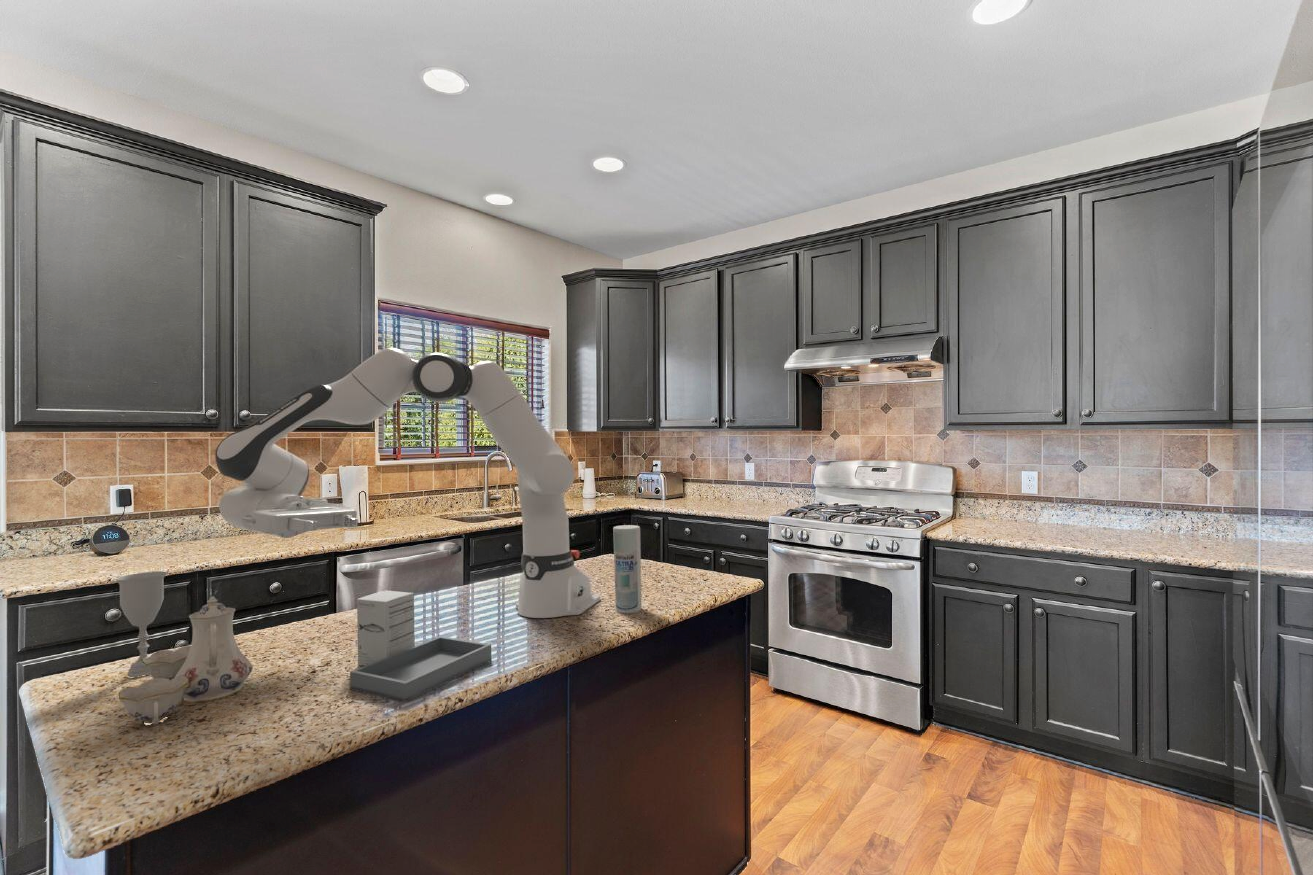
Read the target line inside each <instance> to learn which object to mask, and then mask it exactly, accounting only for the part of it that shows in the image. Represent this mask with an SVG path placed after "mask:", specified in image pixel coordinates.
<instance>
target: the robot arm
mask: <svg viewBox="0 0 1313 875" xmlns="http://www.w3.org/2000/svg"><path fill="white" fill-rule="evenodd" d="M409 393H418V394H420V396H422V397H424V398H425V399H427V400H429V401H431V402H434V403H448V402H451V401H453V400H455V399H456V398H463V399H465V400H467V402H469V404H471V405H472V408H473V409H474V410H475V411H476V413H477V414H478V416H479V417H480V419H481V420H482V422H483V424H484V425H485V427H486V428H487V430H488V431H489V433H490V434H491V436H492V437H493V440H494V441H495V442H496V443H497V445H498V446H499V447H500V449H501V450H502V451H503V452H504V453H505V454H506V456H507V457H508V459H509V460H510V461H511V462H512V464H513V466H515V468H516V470H517V471H516V474H517V475H516V477H517V487H518V488H517V489H518V495H519V496H518V497H519V504H520V511H521V512H520V513H521V520H522V547H523V551H522V554H521V560H520V562H521V569H522V571H523V572H522V573H521V574H520V576H519V577H520V578H519V588H518V602H516V603H515V608H516V609H517V614H518V615H520V616H522V617H525V618H532V619H533V618H534V619H548V618H551V619H552V618H557V617H563V616H564V617H565V616H577V615H581V614H583V613H584V612H585V611H586V610H588V609H589V608H591V607H592V606H594V605H595V604H596V603H598V602H599V601H600V600H601V595H599V594H596V593H593V592H592V587H591V586H592V585H591V580H590V578H589V576H588V575H586V573H584V572H583V571H582V570H581V569H580V568H578V567H577V566H576V565H575V561H574V559H579V557H580V551H579V550H578V549H577V550H576V549H575V550H574V549H570V531H569V530H570V529H569V527H570V524H569V523H570V521H569V517H568V512H567V508H566V502H565V496H564V493H566V492H567V491H568V490H570V488H571V487H572V485H573V484H574V481H575V478H576V471H575V467H574V465H573V462H572V461H571V460H570V459H569V457H568V456H567V455H566V454H565V452H564V451H563V450H562V449H561V447H560V445H559V444H558V443H557V442H556V441H555V439H554V438H553V436H552V435H551V434H550V433H549V432H548V431H547V430H546V428H545V427H544V426H543V425H542V423H541V422H540V420H539V419H538V418H537V416H536V414H535V413H534V412H533V410H532V408H531V406H530V405H529V403H528V402H527V400H526V399H525V397H524V396H523V395H522V393H521V391H520V389H519V388H518V386H517V385H516V383H515V382H514V381H513V380H512V379H511V377H510V376H509V375H508V374H507V373H506V372H505V370H504V369H503V368H502V367H501V366H500V365H499V364H498V363H496V362H494V361H491V360H482V361H479V362H475V364H473V365H471V366H469V365H468V364H466V363H464V362H462V361H461V360H459V359H457V358H455V357H454V356H451V355H449V354H446V353H442V352H432V353H427V354H425V355H423V356H422V357H421V358H419V359H417V360H416V359H413V358H412V357H411V356H409V355H408V354H407V353H406V352H405V351H403V350H401V349H399V348H395V347H385V348H383V349H381V350H380V351H378V352H376V353H375V354H373V355H371V356H370V357H368V358H367V359H365V360H364V361H363V362H362V363H360V364H359V365H358V366H357V367H355V368H354V369H352V370H351V372H349V373H348V374H347V375H345V376H344V377H343V378H340V379H338V380H336V381H334V382H331V383H327V384H316V385H312V386H311V387H309V388H307V389H305V390H303V391H301V392H300V393H299V394H297V395H295V396H294V397H292V398H290V399H289V400H288V401H286V402H284V403H283V404H281V405H279V406H278V407H277V408H276V407H275V409H273V410H272V411H271V412H268V413H267V414H265V415H263V417H260V418H259V419H258V420H256V421H255V422H254V423H251V424H250V425H248V426H246V427H244V428H241V429H239V430H237V431H235V432H232V433H231V434H229V435H227V436H225V438H223V439H222V441H220V442H219V444H218V445H217V447H216V449H215V455H214V456H215V457H214V458H215V463H216V467H217V470H218V472H219V473H220V474H221V475H222V476H224V477H227V478H230V479H233V480H236V481H239V482H242V485H240V486H237V487H235V488H232V489H230V490H228V491H226V492H225V493H224V494H223V495H222V496H221V498H220V500H219V504H218V509H219V512H220V516H221V517H222V519H223V520H224V521H225V522H227V523H228V524H229V525H231V526H233V527H236V528H238V529H240V530H241V529H242V530H245V531H248V532H249V531H250V532H255V533H259V532H260V533H263V534H265V535H267V536H269V535H270V536H273V537H278V538H283V539H290V538H294V537H296V536H298V535H302V534H305V533H307V532H312V531H313V532H314V531H318V530H329V529H330V530H331V529H340V528H342V529H343V528H356V527H358V524H359V519H358V518H357V517H358V516H357V515H358V512H357V510H356V509H355V508H352V507H349V506H345V505H341V504H337V503H334V502H332V503H331V502H328V501H329V500H328V499H325V498H318V497H317V498H315V497H314V498H313V497H305V496H302V495H303V493H304V491H305V489H306V487H307V485H308V482H309V479H310V468H309V465H308V463H307V462H306V461H305V460H304V459H302V458H301V457H298V456H297V455H295V454H294V453H292V452H290V451H288V450H286V449H284V448H282V447H281V446H279V445H277V444H276V443H277V442H279V441H280V440H282V439H283V438H285V437H286V436H287V435H289V434H290V433H292V432H293V431H295V430H297V428H300V427H301V426H302V425H304V424H306V423H308V422H312V421H317V420H318V421H319V420H321V421H322V420H323V421H324V420H326V421H333V422H339V423H343V424H347V425H353V426H354V425H355V426H356V425H359V426H362V425H367V424H370V423H372V422H374V421H376V420H378V419H379V418H380V417H381V416H382V415H384V414H385V413H386V412H387V411H388V410H389V409H390V408H391V407H392V406H394V405H395V404H396V403H397V402H398V401H399V400H400V399H401V398H403V397H404V396H405V395H407V394H409Z"/></svg>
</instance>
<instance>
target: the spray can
mask: <svg viewBox="0 0 1313 875" xmlns="http://www.w3.org/2000/svg"><path fill="white" fill-rule="evenodd" d="M612 530H613V534H612V535H613V537H612V538H613V561H614V562H613V563H614V564H613V565H614V593H615V595H614V597H615V600H614V601H615V611H616V612H617V613H621V614H633V613H638V612H640V611H641V610H642V569H641V568H642V563H641V562H642V561H641V560H642V559H641V558H642V556H641V554H642V553H641V527H640V526H639V525H633V524H628V525H627V524H624V525H616V526H613V528H612Z"/></svg>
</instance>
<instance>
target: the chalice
mask: <svg viewBox="0 0 1313 875" xmlns="http://www.w3.org/2000/svg"><path fill="white" fill-rule="evenodd" d="M167 573H168V572H167V571H147V572H139V573H132V574H127V575H122V576H119V577H116V578H115V581H116V582H117V583H118V585H119V607H120V608H121V610H122V612H123V615H124V616H125V617H126V619H127V620H128V622H129V623H130V624H131V626H134V627H138V630H139V633H138V636H137V638H136V639H138V641H139V644H138V646H137V647H136V649H138V651H139V657H138V658H137V660H134V661H133V662H132V663H131V664H130V667H129V669H128V670H127V674H126V675H128V676H129V677H138V676H142V675H149V676H151V675H150V673H149V671H148V668H147V666H146V665H145V664H143V663H141V661H140V660H141V659H143V658H149V657H150V656H149V655H148V648H149V647H150V644H148V642H147V640H148V637H149V636H150V635H149V634H148V632H147V629H148V628H147V627H148V626H149V625H150V624H152V623H154V621H155V618H156V617H157V615H158V613H159V611H160V609H161V607H162V604H163V601H164V599H165V590H164V589H165V587H164V583H165V582H164V578H165V577H166V575H167Z"/></svg>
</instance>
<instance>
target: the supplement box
mask: <svg viewBox="0 0 1313 875" xmlns="http://www.w3.org/2000/svg"><path fill="white" fill-rule="evenodd" d="M356 605H357V607H356V618H357V627H356V628H357V665H358V666H366V665H368V664H371V663H374V662H376V661H379V660H381V659H384V658H386V657H389V656H391V655H394V654H396V653H399V652H402V651H404V650H407V649H409V648H412V647H414V646H416V645H415V593H414V592H406V591H405V592H404V591H397V590H395V591H394V590H386V589H385V590H381V591H378V592H374V593H371V594H369V595H364V596H362V597H359V598H357V599H356Z"/></svg>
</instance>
